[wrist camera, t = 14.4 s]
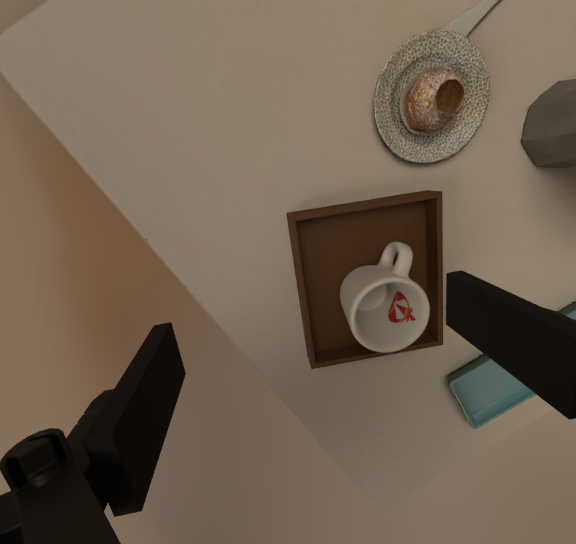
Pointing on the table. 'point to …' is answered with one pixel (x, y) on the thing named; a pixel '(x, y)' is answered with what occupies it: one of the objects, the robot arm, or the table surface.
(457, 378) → the shallow long dish
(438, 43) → the pastry
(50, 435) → the robot arm
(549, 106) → the coffeepot
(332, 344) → the tray
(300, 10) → the table surface
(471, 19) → the fork
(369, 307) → the cup
